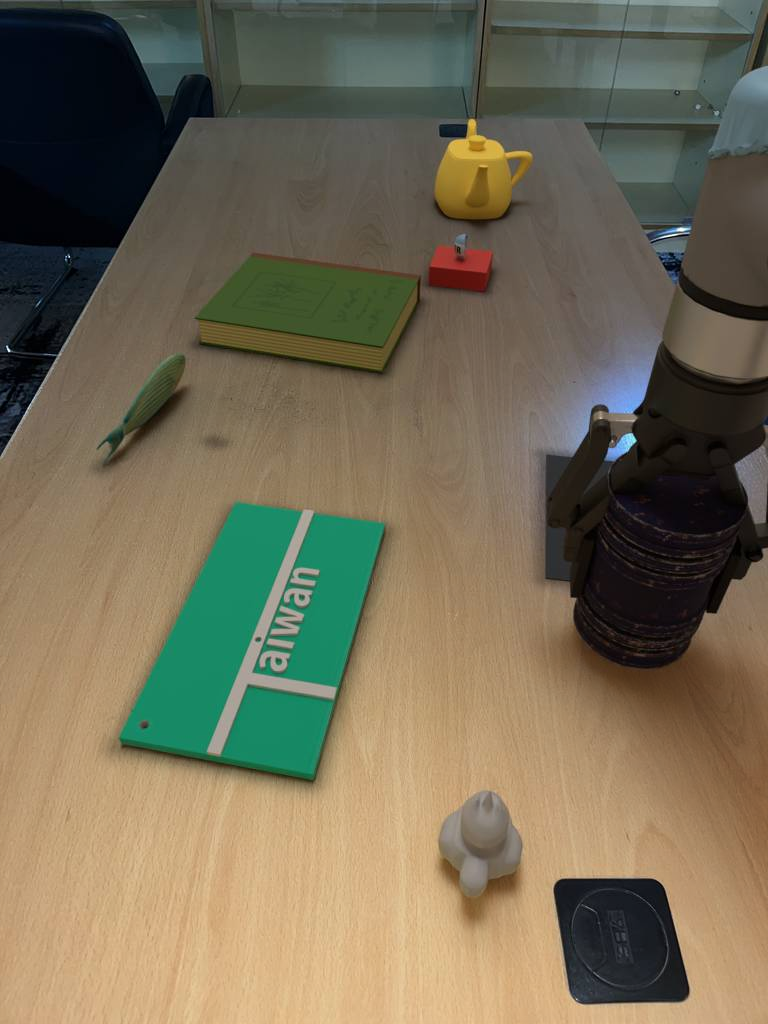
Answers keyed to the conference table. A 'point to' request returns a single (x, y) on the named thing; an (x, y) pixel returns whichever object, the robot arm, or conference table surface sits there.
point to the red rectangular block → (460, 266)
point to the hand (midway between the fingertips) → (641, 592)
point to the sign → (261, 642)
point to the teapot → (477, 177)
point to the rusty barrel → (655, 569)
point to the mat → (555, 536)
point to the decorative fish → (149, 399)
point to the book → (311, 311)
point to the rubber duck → (480, 841)
